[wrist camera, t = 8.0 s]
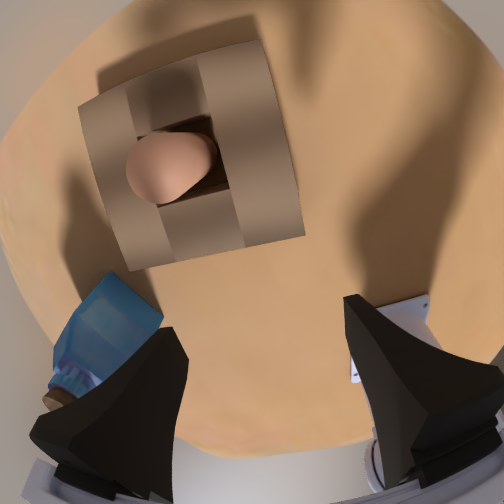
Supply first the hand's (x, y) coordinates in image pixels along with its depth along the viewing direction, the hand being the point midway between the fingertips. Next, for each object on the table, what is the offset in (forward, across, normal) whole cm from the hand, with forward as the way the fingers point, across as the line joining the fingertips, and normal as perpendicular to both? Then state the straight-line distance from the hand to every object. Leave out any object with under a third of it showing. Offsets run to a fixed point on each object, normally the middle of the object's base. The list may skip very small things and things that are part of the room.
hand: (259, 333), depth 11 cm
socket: (+10, +3, -7) cm, 12 cm away
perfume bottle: (+10, +14, +4) cm, 18 cm away
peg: (+10, +3, -7) cm, 13 cm away
